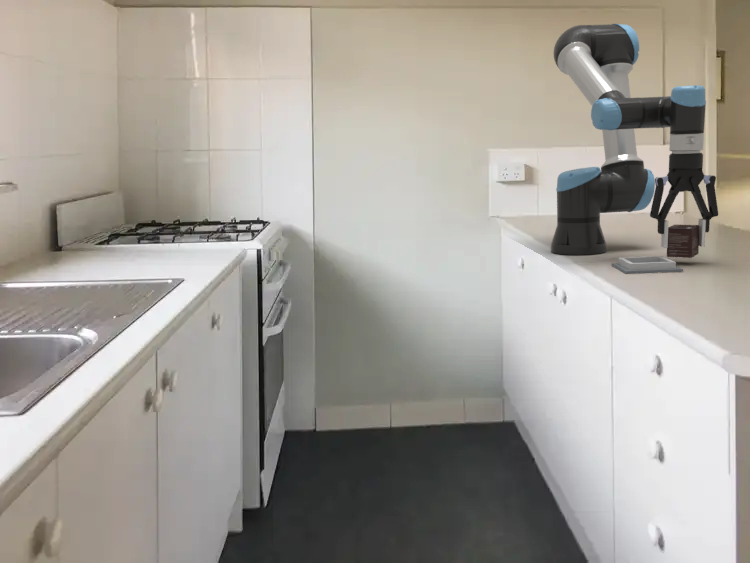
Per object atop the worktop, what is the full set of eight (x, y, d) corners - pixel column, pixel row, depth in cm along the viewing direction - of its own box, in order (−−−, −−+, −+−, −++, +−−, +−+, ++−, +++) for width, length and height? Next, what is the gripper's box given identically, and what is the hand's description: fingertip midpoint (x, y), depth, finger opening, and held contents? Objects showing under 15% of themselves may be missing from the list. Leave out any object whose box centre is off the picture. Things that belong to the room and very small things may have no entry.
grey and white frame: (611, 265, 189) (611, 257, 189) (665, 263, 188) (665, 255, 188) (625, 273, 176) (625, 264, 176) (683, 271, 176) (683, 262, 175)
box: (673, 253, 191) (674, 224, 190) (699, 254, 188) (699, 224, 186) (666, 257, 187) (666, 227, 185) (691, 258, 183) (692, 228, 182)
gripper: (646, 154, 179) (643, 250, 184) (737, 150, 178) (732, 247, 182) (637, 153, 187) (634, 245, 191) (724, 150, 185) (720, 242, 190)
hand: (682, 246), depth 187 cm, fingers closed on box, 8 cm apart
